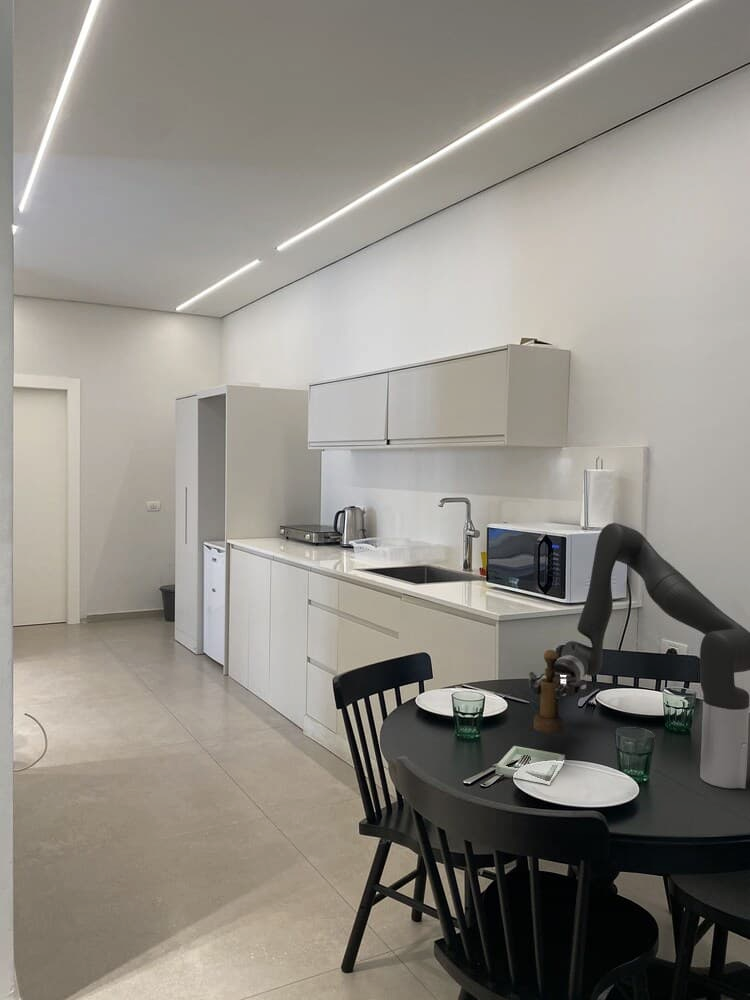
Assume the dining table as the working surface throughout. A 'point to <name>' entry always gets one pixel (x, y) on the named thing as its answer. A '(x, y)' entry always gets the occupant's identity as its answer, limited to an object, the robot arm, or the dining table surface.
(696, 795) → the dining table surface
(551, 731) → the mortar and pestle
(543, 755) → the tray
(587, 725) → the dining table surface
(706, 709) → the robot arm
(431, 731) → the dining table surface
